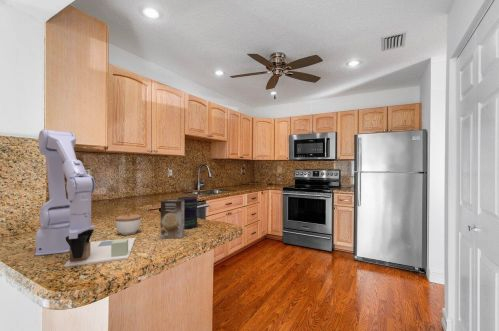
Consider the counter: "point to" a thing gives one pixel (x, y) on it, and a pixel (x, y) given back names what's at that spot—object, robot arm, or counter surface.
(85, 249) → the walnut block
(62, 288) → the counter surface
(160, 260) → the counter surface
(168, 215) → the coffee box
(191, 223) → the storage jar
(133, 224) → the lidded jar
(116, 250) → the sage block
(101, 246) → the board
